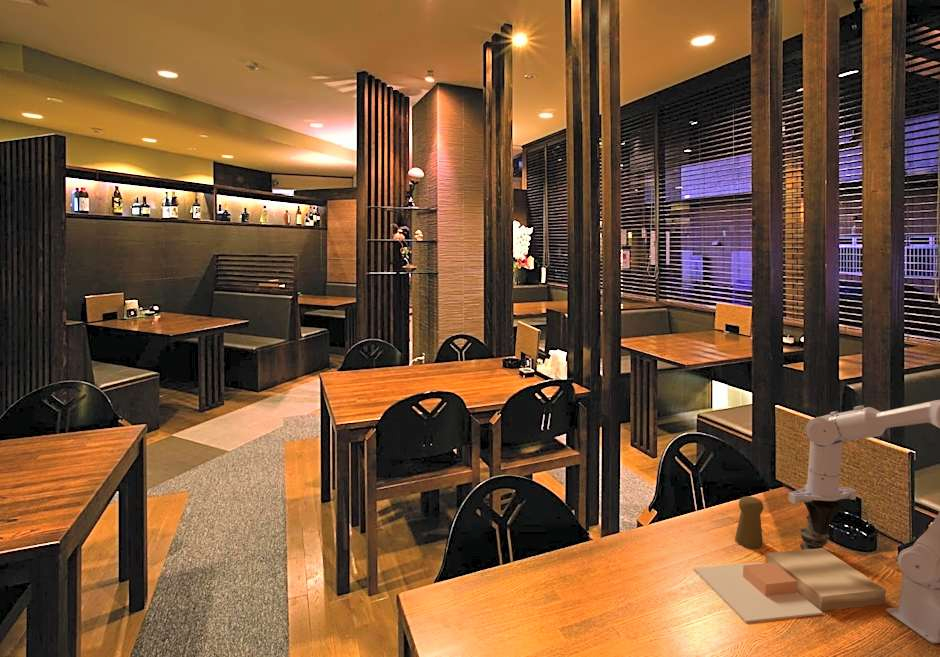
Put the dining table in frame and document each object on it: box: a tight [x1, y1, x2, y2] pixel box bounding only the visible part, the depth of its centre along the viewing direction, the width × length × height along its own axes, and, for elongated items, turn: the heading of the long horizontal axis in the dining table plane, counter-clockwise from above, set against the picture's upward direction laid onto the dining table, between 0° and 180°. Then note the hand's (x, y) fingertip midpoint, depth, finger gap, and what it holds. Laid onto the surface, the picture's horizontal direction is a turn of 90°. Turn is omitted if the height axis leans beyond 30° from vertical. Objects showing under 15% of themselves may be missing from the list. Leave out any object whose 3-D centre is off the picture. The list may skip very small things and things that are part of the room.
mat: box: [693, 561, 824, 624], centre depth 113 cm, size 18×16×1 cm
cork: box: [734, 496, 764, 550], centre depth 132 cm, size 6×6×11 cm
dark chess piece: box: [799, 513, 830, 550], centre depth 129 cm, size 6×6×12 cm
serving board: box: [765, 547, 887, 612], centre depth 115 cm, size 16×14×3 cm
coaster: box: [743, 562, 797, 596], centre depth 115 cm, size 7×7×2 cm
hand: (819, 532), depth 118 cm, fingers closed
